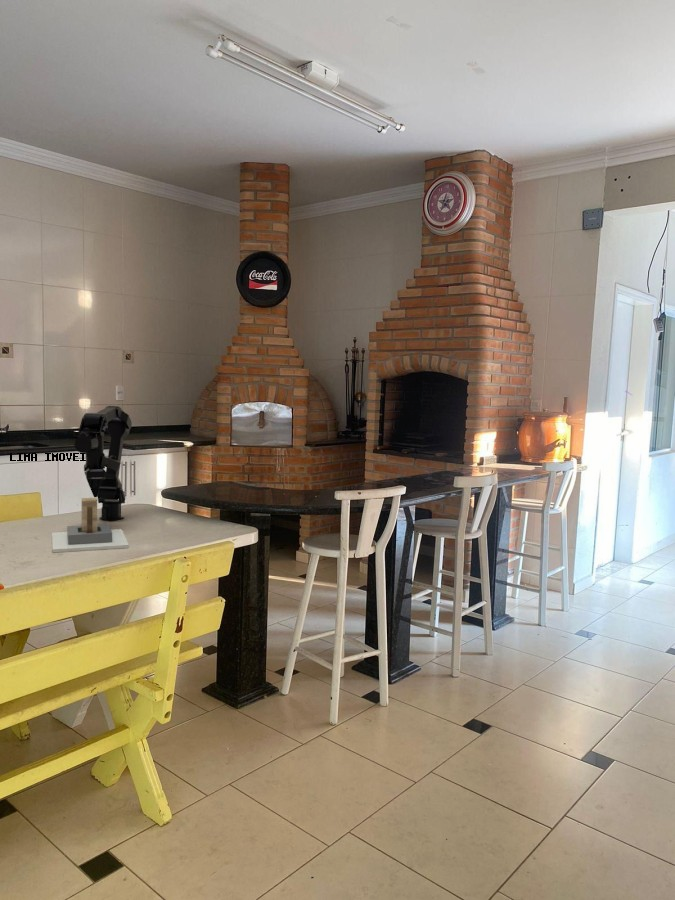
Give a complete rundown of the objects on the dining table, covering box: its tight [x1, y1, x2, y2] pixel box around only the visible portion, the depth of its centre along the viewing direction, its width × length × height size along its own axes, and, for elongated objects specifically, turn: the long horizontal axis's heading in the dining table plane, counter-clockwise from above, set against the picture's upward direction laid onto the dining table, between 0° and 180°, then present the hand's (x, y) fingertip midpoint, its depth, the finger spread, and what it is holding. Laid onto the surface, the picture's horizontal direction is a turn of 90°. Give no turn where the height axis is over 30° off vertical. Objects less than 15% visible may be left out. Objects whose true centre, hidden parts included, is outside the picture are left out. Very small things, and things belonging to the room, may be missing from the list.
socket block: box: [51, 523, 129, 553], centre depth 219 cm, size 22×22×4 cm
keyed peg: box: [81, 496, 98, 533], centre depth 218 cm, size 6×4×13 cm
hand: (94, 494), depth 236 cm, fingers open, 9 cm apart
